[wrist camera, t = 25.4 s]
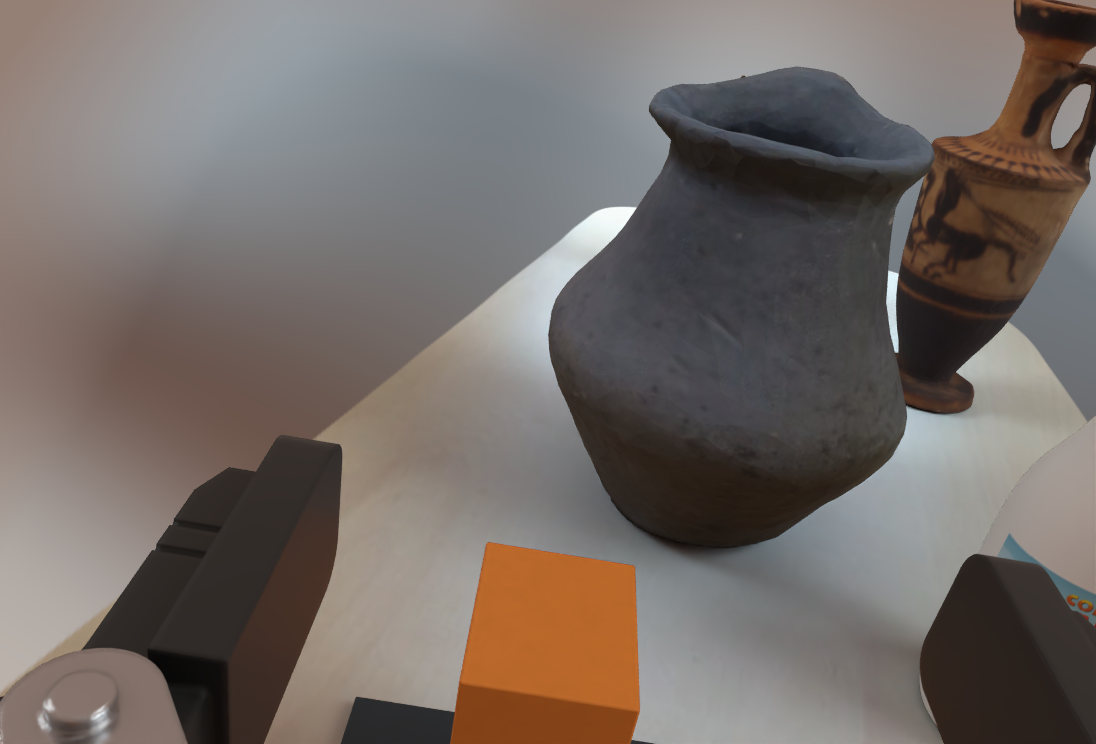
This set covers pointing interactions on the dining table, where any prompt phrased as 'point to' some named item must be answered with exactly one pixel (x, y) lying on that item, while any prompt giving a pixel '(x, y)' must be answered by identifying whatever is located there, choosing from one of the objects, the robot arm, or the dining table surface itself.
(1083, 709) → the robot arm
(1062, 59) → the vase
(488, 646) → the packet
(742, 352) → the dark grey clay pot
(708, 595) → the dining table surface
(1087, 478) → the milk bottle
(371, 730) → the mat
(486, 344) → the dining table surface
